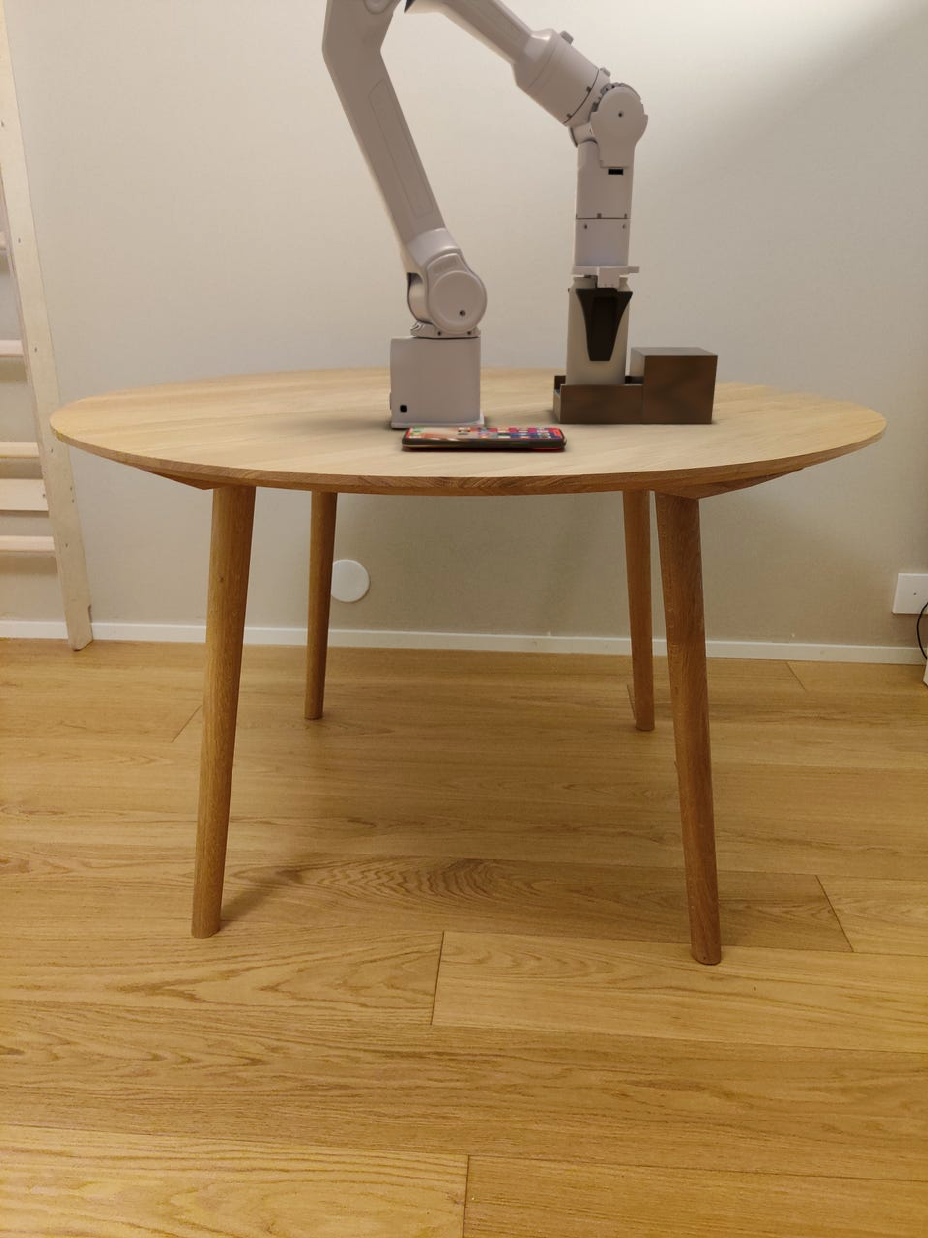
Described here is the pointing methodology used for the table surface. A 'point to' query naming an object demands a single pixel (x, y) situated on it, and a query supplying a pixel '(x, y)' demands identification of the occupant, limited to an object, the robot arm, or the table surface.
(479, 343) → the robot arm
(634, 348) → the wooden desk organizer
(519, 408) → the table surface
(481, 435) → the smartphone
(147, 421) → the table surface
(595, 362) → the beverage can
